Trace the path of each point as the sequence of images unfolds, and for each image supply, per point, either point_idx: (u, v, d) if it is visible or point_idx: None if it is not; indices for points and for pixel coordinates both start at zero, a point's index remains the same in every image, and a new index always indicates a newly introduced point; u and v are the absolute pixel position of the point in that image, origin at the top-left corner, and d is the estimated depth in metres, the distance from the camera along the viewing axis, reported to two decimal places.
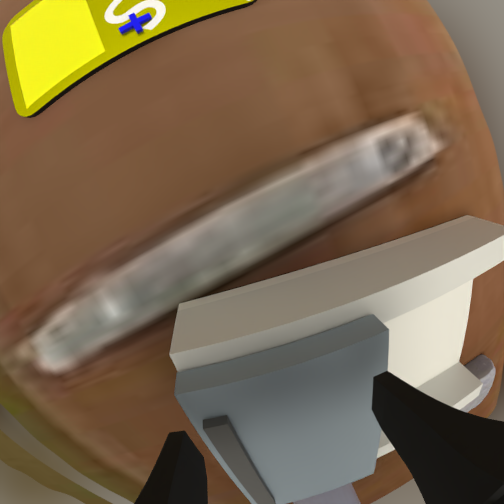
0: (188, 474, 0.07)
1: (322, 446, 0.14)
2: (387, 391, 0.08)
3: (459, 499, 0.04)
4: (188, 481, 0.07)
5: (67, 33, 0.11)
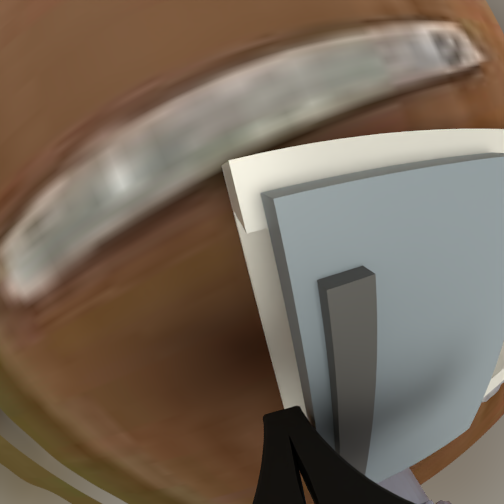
0: (294, 454, 0.07)
1: (454, 364, 0.08)
2: (286, 429, 0.08)
3: None
4: (295, 461, 0.07)
5: None
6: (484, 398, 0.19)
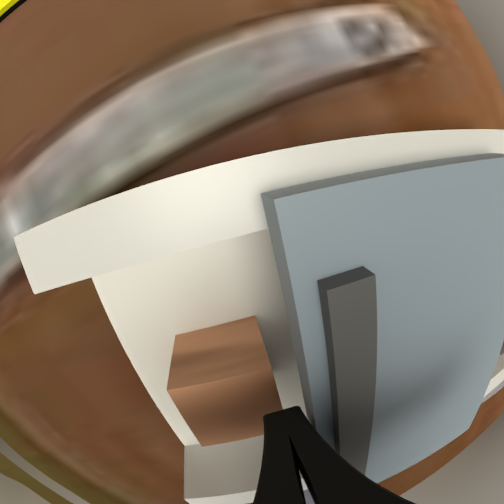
0: (294, 454, 0.07)
1: (454, 364, 0.08)
2: (286, 429, 0.08)
3: None
4: (295, 461, 0.07)
5: None
6: None
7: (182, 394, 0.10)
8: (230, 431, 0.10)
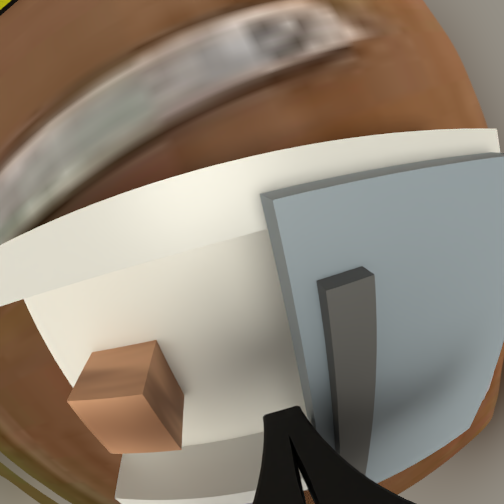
0: (294, 454, 0.07)
1: (454, 363, 0.08)
2: (286, 429, 0.08)
3: None
4: (295, 461, 0.07)
5: None
6: None
7: (79, 406, 0.09)
8: (129, 444, 0.10)
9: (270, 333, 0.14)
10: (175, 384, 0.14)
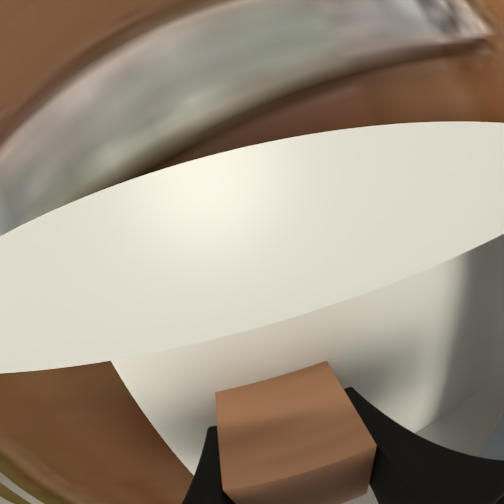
0: None
1: None
2: None
3: None
4: None
5: None
6: None
7: (246, 492, 0.05)
8: None
9: (442, 332, 0.10)
10: None
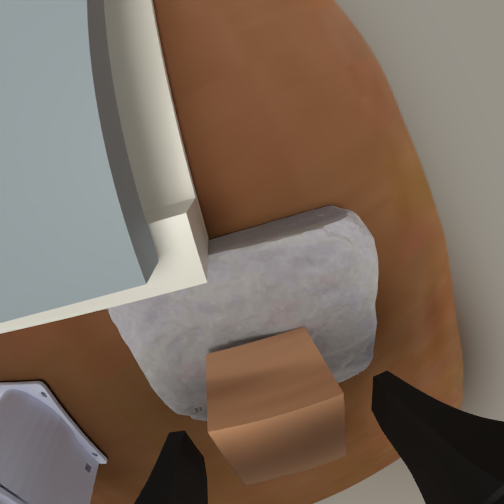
0: (188, 474, 0.07)
1: None
2: (387, 391, 0.08)
3: (460, 499, 0.04)
4: (188, 481, 0.07)
5: None
6: (179, 410, 0.13)
7: (228, 436, 0.07)
8: (282, 467, 0.08)
9: None
10: None
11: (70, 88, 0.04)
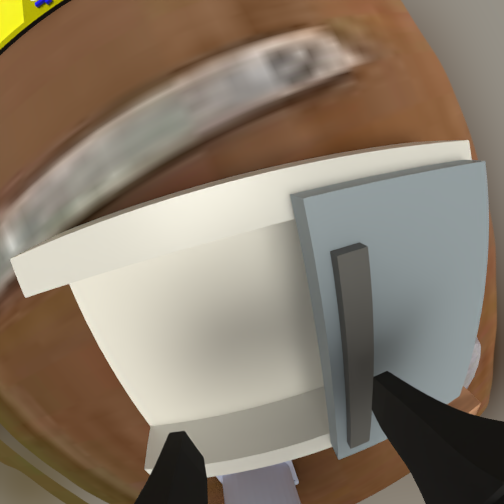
0: (188, 474, 0.07)
1: (436, 325, 0.12)
2: (387, 391, 0.08)
3: (459, 499, 0.04)
4: (188, 481, 0.07)
5: (3, 14, 0.08)
6: None
7: None
8: None
9: (287, 308, 0.17)
10: None
11: (468, 353, 0.13)
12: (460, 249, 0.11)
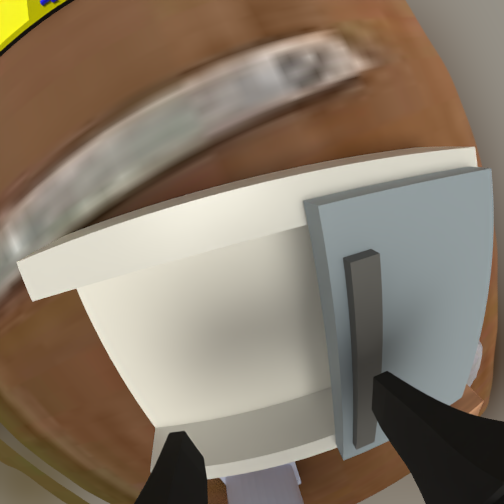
0: (188, 474, 0.07)
1: (441, 329, 0.12)
2: (387, 391, 0.08)
3: (459, 499, 0.04)
4: (188, 481, 0.07)
5: (8, 11, 0.08)
6: None
7: None
8: None
9: (294, 311, 0.17)
10: None
11: (470, 355, 0.13)
12: (466, 255, 0.11)
